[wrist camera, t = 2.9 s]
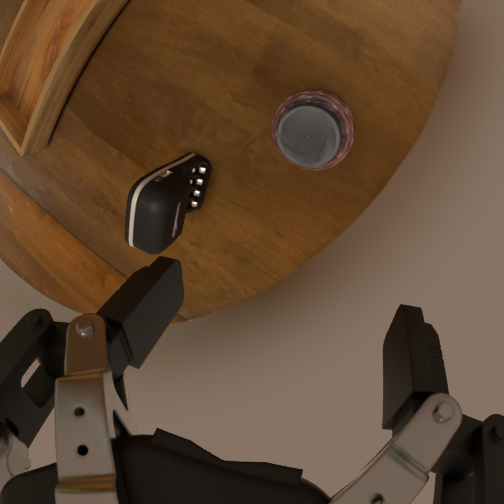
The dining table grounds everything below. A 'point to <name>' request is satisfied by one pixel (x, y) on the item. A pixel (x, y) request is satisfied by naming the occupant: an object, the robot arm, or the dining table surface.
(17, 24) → the tray
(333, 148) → the supplement bottle
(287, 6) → the dining table surface
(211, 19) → the dining table surface
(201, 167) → the battery charger
